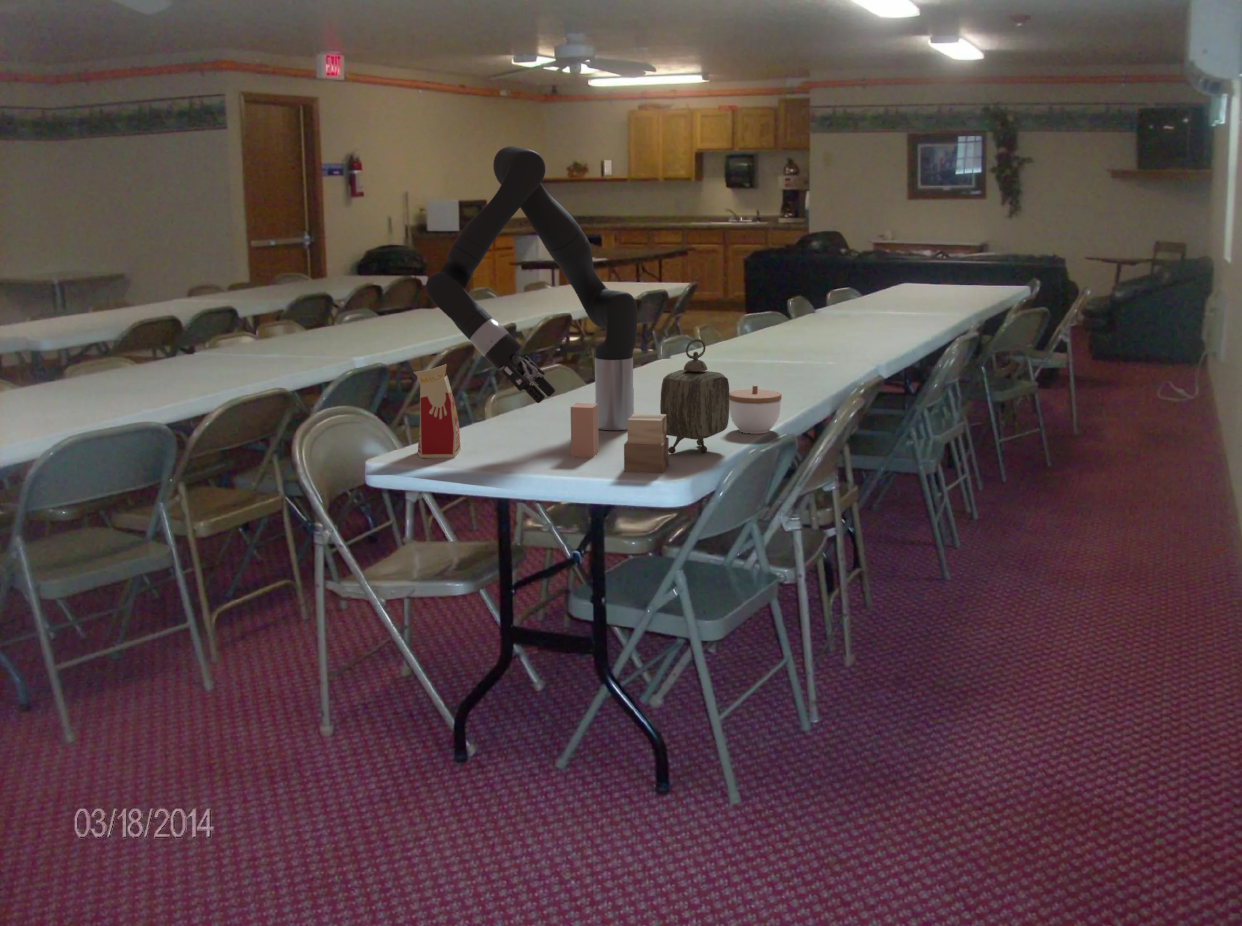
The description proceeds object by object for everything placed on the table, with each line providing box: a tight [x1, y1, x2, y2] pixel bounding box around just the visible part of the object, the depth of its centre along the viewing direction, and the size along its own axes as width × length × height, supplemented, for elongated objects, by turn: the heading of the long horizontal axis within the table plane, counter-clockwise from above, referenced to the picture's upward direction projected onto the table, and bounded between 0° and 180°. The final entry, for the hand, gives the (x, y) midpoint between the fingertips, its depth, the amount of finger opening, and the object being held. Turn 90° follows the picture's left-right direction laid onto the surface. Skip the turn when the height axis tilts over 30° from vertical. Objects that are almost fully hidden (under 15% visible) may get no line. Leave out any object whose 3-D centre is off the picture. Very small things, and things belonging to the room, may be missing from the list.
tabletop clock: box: [659, 338, 730, 454], centre depth 264 cm, size 14×9×25 cm, turn 141°
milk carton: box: [413, 363, 462, 459], centre depth 265 cm, size 9×9×20 cm
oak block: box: [627, 413, 667, 445], centre depth 250 cm, size 7×7×5 cm
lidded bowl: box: [729, 384, 782, 435], centre depth 288 cm, size 13×13×11 cm
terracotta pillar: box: [570, 402, 600, 458], centre depth 264 cm, size 5×5×11 cm
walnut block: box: [623, 437, 670, 474], centre depth 251 cm, size 8×8×6 cm
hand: (547, 397), depth 264 cm, fingers open, 8 cm apart
